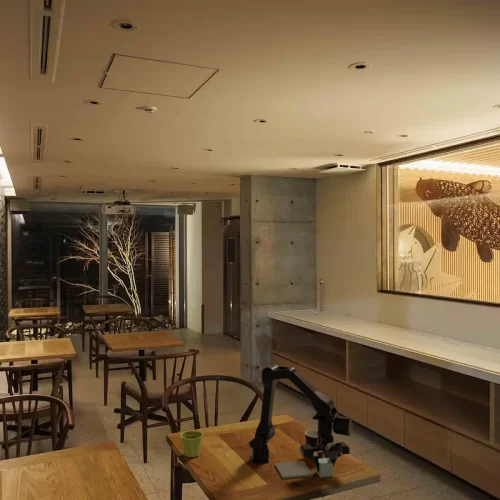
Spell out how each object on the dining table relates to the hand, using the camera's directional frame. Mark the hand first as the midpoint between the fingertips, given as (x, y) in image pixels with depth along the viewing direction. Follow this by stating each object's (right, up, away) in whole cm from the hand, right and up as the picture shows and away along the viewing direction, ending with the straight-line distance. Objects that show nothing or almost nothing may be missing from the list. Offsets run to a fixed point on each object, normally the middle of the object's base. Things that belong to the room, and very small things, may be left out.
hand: (324, 471), depth 201 cm
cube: (0, -1, 0) cm, 1 cm away
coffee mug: (0, -1, +16) cm, 16 cm away
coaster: (-12, -1, +3) cm, 12 cm away
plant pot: (-53, -1, +16) cm, 56 cm away
